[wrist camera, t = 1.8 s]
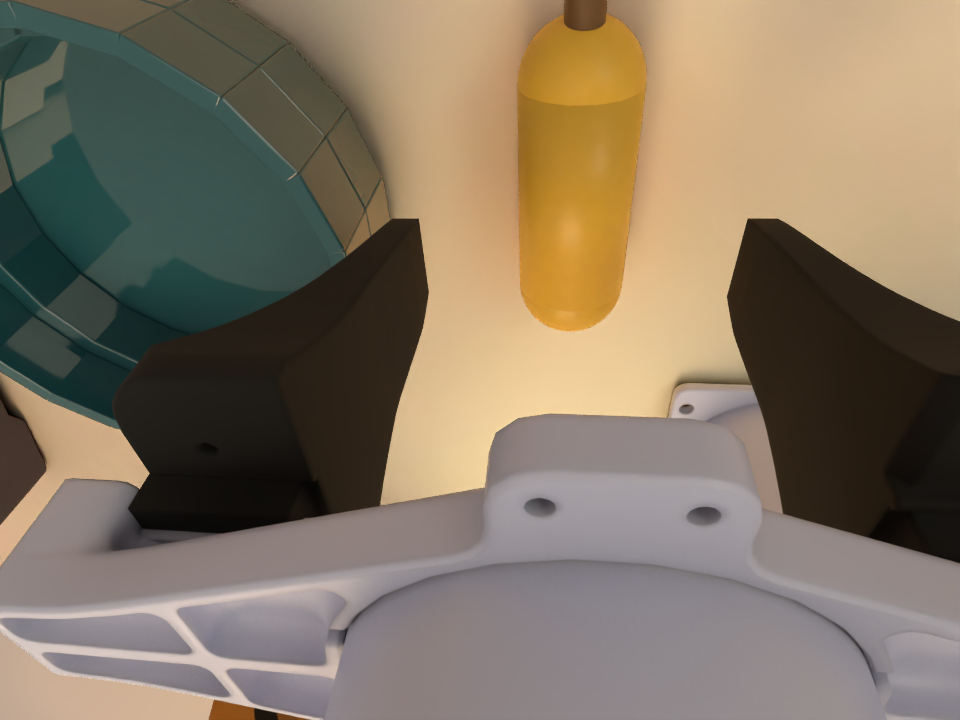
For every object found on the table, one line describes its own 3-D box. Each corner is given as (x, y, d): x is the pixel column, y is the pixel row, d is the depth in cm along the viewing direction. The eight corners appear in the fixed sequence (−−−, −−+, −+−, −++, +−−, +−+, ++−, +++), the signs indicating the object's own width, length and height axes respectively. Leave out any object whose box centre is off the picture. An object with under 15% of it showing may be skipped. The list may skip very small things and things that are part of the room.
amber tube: (613, 297, 20) (619, 357, 18) (522, 296, 20) (518, 354, 18) (652, -52, 14) (670, -27, 11) (519, -45, 14) (511, -20, 12)
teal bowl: (417, 360, 23) (392, 453, 20) (99, 351, 24) (26, 436, 21) (348, -53, 14) (283, -13, 11) (-137, -28, 16) (-325, 14, 12)
